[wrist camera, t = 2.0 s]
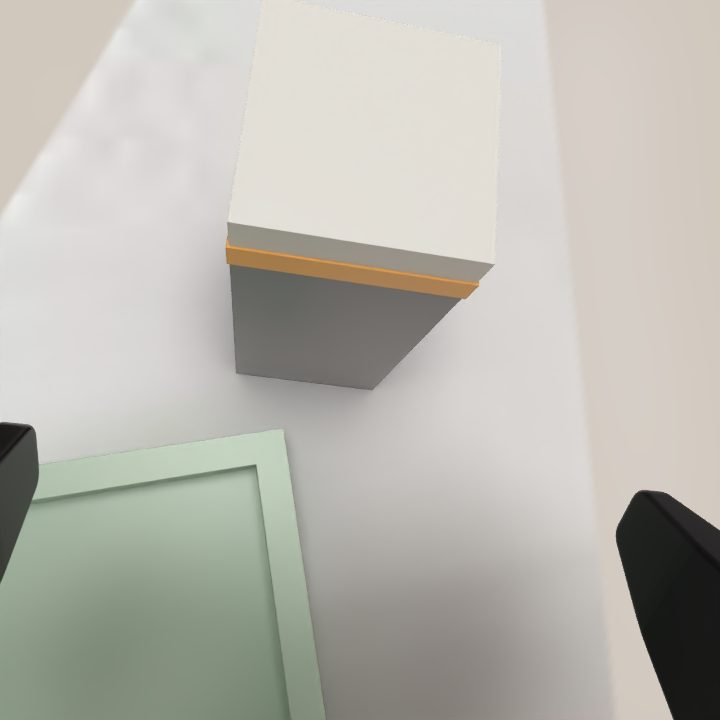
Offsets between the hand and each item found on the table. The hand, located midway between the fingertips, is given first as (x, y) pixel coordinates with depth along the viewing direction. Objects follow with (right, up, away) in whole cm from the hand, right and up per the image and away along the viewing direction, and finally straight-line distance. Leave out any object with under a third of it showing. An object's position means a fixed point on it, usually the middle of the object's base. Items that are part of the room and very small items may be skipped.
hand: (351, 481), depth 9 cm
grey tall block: (-2, +3, +14) cm, 15 cm away
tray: (-7, -7, +11) cm, 14 cm away
